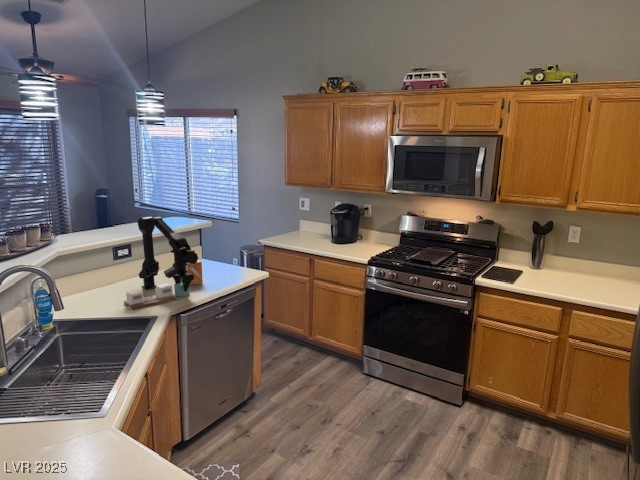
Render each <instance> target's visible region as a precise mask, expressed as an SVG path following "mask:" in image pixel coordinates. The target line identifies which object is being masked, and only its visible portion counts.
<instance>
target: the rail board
mask: <svg viewBox="0 0 640 480" xmlns="http://www.w3.org/2000/svg"><path fill="white" fill-rule="evenodd" d="M153 295H157V293H154V294H149V295H146V296H144V295H143V298H144V297H149V296H153ZM177 299H178V298H177V296H176V295H174V296H170V297H166V298H161V299H157V300H153V301H148V302H144V303H140V304H136V305H131V306H130V305H129V304H127V303H126V301H127V299H126V300H124V301H123V305H125V306H126V307H128V308H129V309H131V310H132V311H135V310H139V309H140V310H141V309H143V308H149V307H153V306H156V305H162V304H165V303H168V302H173V301H176V300H177Z"/></svg>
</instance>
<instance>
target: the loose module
mask: <svg viewBox="0 0 640 480" xmlns="http://www.w3.org/2000/svg"><path fill="white" fill-rule="evenodd" d="M173 287H174V288H173V289H174V296H175V297H179V298H180V297H185V296H189V295H190V294H191V293H190V292H191V291H190V286H189V287H188V290H187V292H184V287H183V283H182V282H181V283H174V284H173Z"/></svg>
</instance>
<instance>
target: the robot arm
mask: <svg viewBox="0 0 640 480" xmlns="http://www.w3.org/2000/svg"><path fill="white" fill-rule="evenodd" d="M137 226H138V230H139V231H140V233H141V234H142V244H143V245H142V246H143V253H144V254H143V255H144V260H143V262H142V265H141V270H140V272H139V273H138V277H139V279H143V281H142V282H143V285H141V288H142V289H144V290H150V289H156V285H157V284H156V283H155V276H158V274H159V272H160V271H159V270H160V262H159V261H157V260H156V258H155V251H154V239H153V232H154V230H155V228H157V229H158V230H159V232H160V233H161V234H162V235H163V236H164V237H165V238H166V239H167V240H168V244H169V246H170V247H171V248H172V249H171V250H170V253H171V254H172V253H173V259H174V260H173V261H174V263H172V266H171V267H169V268H167V269H165V270H164V271H163V274H164V276H165V277H166V278H167V279H173V280H174V284H176V283H181V282H182V283H183V287H184V292H187V290H188V287H189V288H190V286H191V285H190V283H191V281H192V280H194V275H193V274H191V273H188V271H187V270H186V265H187V263H191V264H195V263H196V262H197V261H198V260H199V256H198V254H197V253H196V252H195V250H192V248H191V246H190V244H189V243H188V242H187V239H186V238H185V237H184V236H182V234H179V233H176V232H175V231H174V230H173V229H172V228H171V227H170V226H169V225H168V223H166V222H165V221H164V219H163V218H162V217H161V216H154V217H152V216H145V217H140V218H138V220H137ZM186 273H187V274H186Z"/></svg>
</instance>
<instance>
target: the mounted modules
mask: <svg viewBox="0 0 640 480" xmlns="http://www.w3.org/2000/svg"><path fill="white" fill-rule="evenodd" d="M155 285H156V287H155V291H156V294H157V295H158V296H160V297H166V296H170V295H174V294H173V285H172V284H170V283H168V282H166V283H161V284H155ZM125 294H126V295H125V297H126V300H127V302H129V303H130V304H136V303H140V302H144V298H143V297H144V292H143V291H142V290H140V289H132V290H129V291H125Z"/></svg>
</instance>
